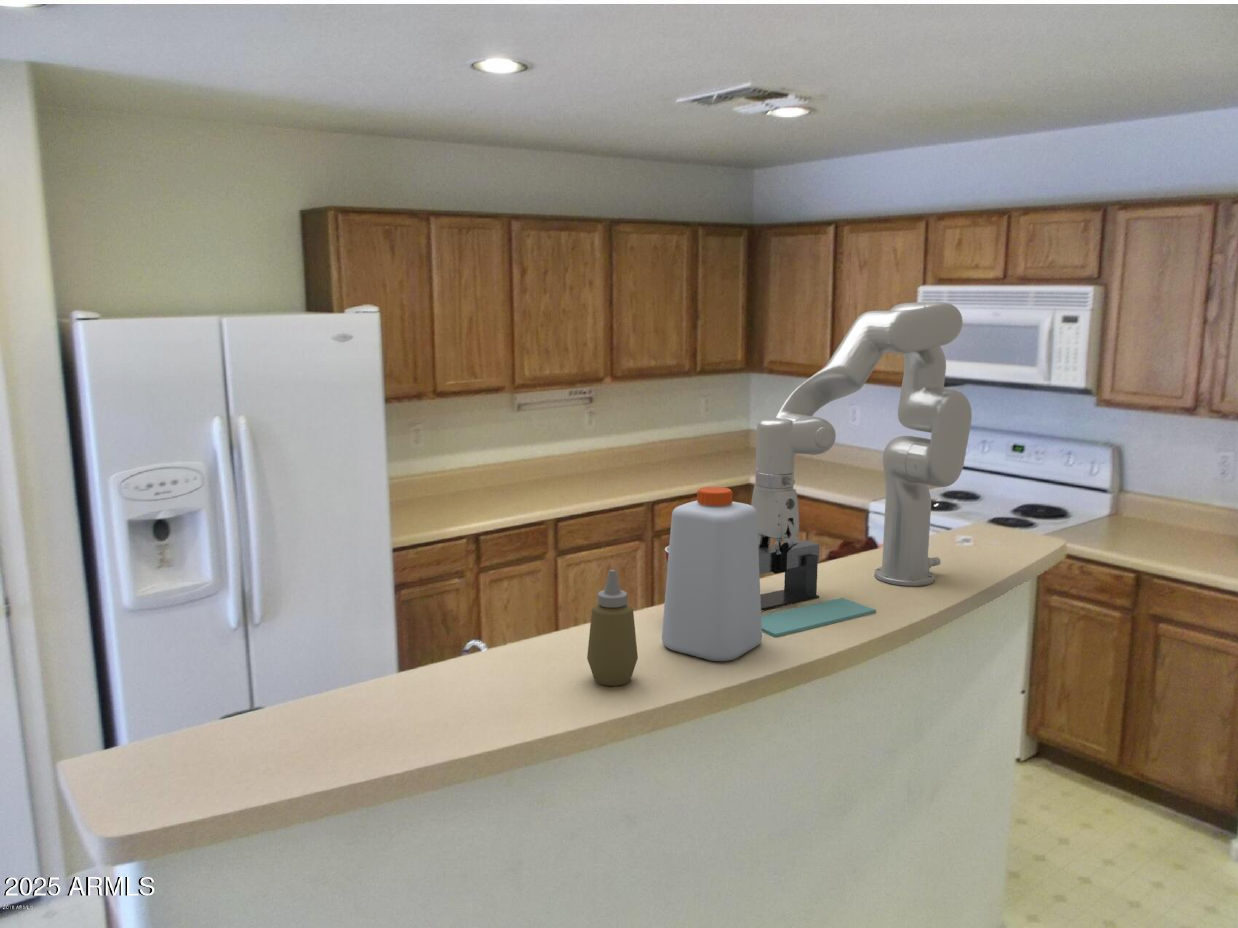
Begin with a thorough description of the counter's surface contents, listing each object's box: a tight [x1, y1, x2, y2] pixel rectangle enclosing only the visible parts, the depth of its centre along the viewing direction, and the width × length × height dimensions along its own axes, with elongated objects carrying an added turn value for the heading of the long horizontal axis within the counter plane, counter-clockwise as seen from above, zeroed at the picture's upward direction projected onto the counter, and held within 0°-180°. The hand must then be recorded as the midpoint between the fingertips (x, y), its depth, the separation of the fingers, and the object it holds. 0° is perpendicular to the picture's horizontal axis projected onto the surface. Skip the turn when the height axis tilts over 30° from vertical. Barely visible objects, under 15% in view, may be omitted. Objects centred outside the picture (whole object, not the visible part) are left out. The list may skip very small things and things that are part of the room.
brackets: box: [760, 555, 820, 612], centre depth 182 cm, size 20×7×9 cm, turn 122°
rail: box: [758, 539, 820, 575], centre depth 181 cm, size 22×4×4 cm, turn 122°
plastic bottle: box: [661, 486, 763, 662], centre depth 157 cm, size 15×15×28 cm
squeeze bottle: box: [586, 569, 639, 687], centre depth 142 cm, size 8×8×18 cm
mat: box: [761, 597, 877, 638], centre depth 173 cm, size 26×9×1 cm, turn 122°
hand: (771, 568), depth 182 cm, fingers closed on rail, 4 cm apart
